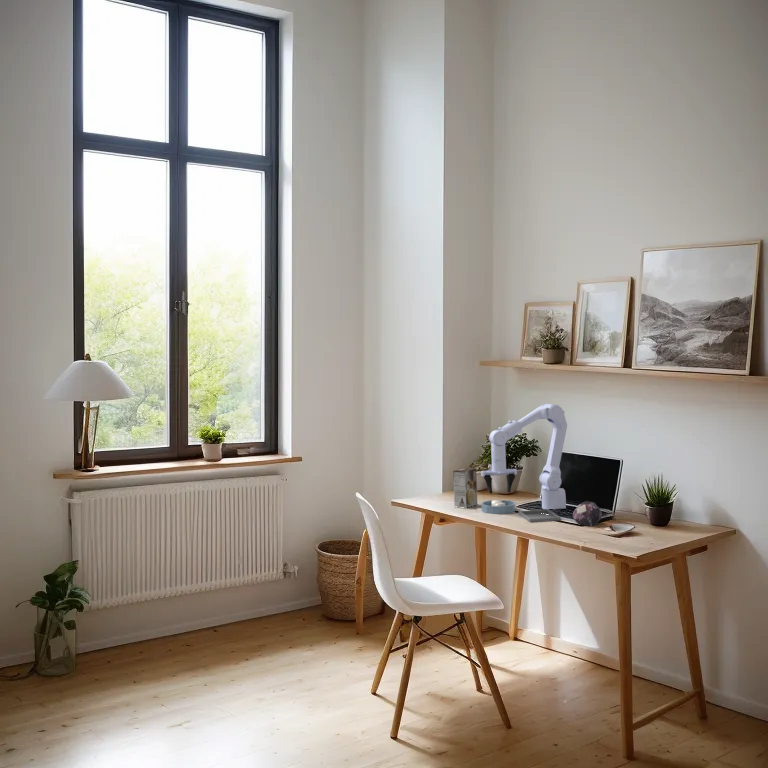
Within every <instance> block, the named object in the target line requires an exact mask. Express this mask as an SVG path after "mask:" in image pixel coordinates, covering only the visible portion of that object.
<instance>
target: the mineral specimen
mask: <svg viewBox="0 0 768 768" xmlns="http://www.w3.org/2000/svg"><path fill="white" fill-rule="evenodd" d="M602 516H603V512H602V510H601V509H600V507H599V506H598V505H597V504H596V503H595V502H593V501H587V500H585V501H584V502H582V503H580V504H578V505H577V506H576V508H575V509H574V511H573V513H572V518H573V520H574V521H575V522H576V523H577V524H578V525H579V526H584V527H594V526H596V525H597V524H598V523H599V522H600V521H601V519H602Z"/></svg>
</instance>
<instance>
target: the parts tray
mask: <svg viewBox="0 0 768 768" xmlns="http://www.w3.org/2000/svg"><path fill="white" fill-rule="evenodd" d="M541 513H542V514H541ZM543 513H544V514H543ZM545 513H548V514H549V515H546V514H545ZM518 515H519V516H520V517H522V518H523V520H525V521H527V522H529V523H538V522H539V523H540V522H541V523H542V522H555V521H561V516H559V515H558V514H557V513H555V512H554V511H551V510H549V509H533V510H532V509H531V510H518Z"/></svg>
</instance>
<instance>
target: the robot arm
mask: <svg viewBox="0 0 768 768" xmlns="http://www.w3.org/2000/svg"><path fill="white" fill-rule="evenodd" d="M565 416H566V415H565V411H564V409H563V408H562V407H561V405H558V404H554V403H553V404H551V403H548V402H547V403H544V404H542V405H540V406H537V408H534V410H532V411H531V412H529V413H528V414H526V415H525V416H523V417H522V418H520V419H518V420H508V421H507V423H506V424H505V425H503V426H502V427H501V426H499V427H498V428H497V429H494V430H493V431H491V432H490V434H489V436H488V441H489V442H490V444H491V445H490V446H491V448H490V452H491V469H489V470H482V471H480V475H481V477H483V479H484V480H485V483H486V486H487V488H488V489H487V490H488V493H489V494H491V495H492V494H493V489H492V485H493V484H492V483H493V477H492V476H506V483H507V485H506V486H507V487H506V489H507V493H511V489H512V485H513V482H514V481H515V478H516V475H518V470H517V468H507V458H506V455H507V454H506V444H507V442H508V440H511V438H514V437H515V436H517V435H519V434H520V433H522V429H523V428H525V427H527V426H529V425H530V424H531V423H533V422H535V421H536V422H537V420H542V419H543V420H546V421H548V422H549V423H550V424H551V426H552V427H553V429H552V434H551V439H550V445H549V449H548V455H547V459H546V464H545V466H543V468H542V472H541V474H540V475H539V478H538V480H539V483H540V484H541V508H542V510H544V509H553V510H561V509H567V498H566V497H567V496H566V490H565V489H564V488H563V487H562V488H561V485H562V477H561V476H562V471H561V468H560V465H561V464H560V463H561V459H562V455H563V451H564V450H563V449H564V443H565V438H566V434H567V428H568V422H567V419H566V417H565Z"/></svg>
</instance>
